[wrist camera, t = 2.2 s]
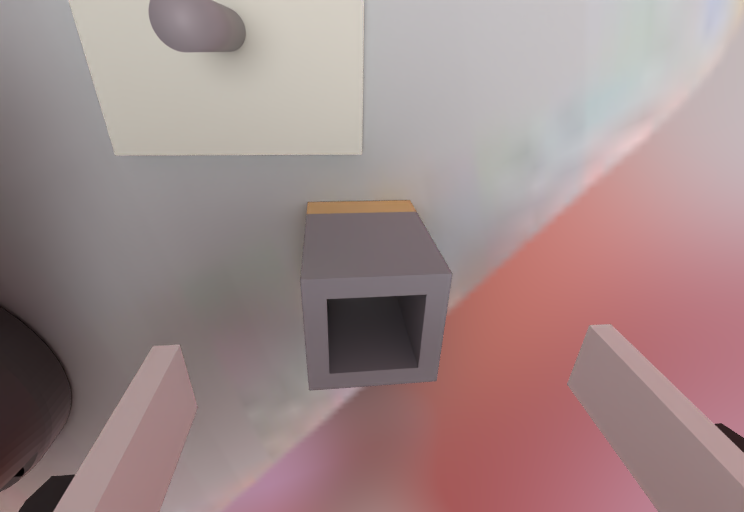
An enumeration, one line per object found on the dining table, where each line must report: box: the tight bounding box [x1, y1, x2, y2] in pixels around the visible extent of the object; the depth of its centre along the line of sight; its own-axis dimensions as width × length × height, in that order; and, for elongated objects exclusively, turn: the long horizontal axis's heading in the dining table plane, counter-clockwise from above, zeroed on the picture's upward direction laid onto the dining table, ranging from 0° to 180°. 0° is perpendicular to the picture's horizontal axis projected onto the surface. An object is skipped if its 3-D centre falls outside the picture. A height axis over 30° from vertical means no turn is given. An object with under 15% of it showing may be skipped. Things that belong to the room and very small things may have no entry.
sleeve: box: [300, 200, 452, 390], centre depth 16 cm, size 5×5×7 cm
